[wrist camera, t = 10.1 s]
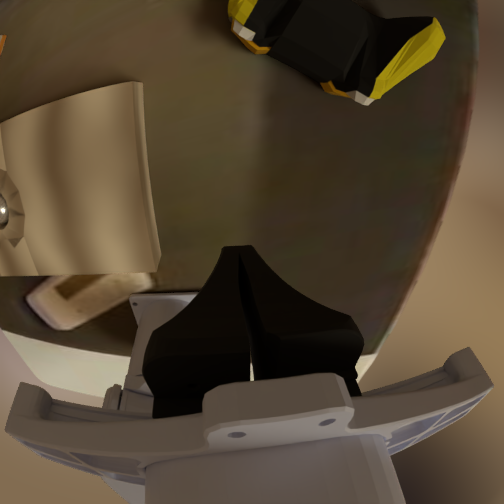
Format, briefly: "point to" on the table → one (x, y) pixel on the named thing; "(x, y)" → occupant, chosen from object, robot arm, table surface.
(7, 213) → the ball
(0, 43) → the supplement box
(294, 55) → the gaming controller
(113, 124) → the beige flat block
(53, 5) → the table surface
